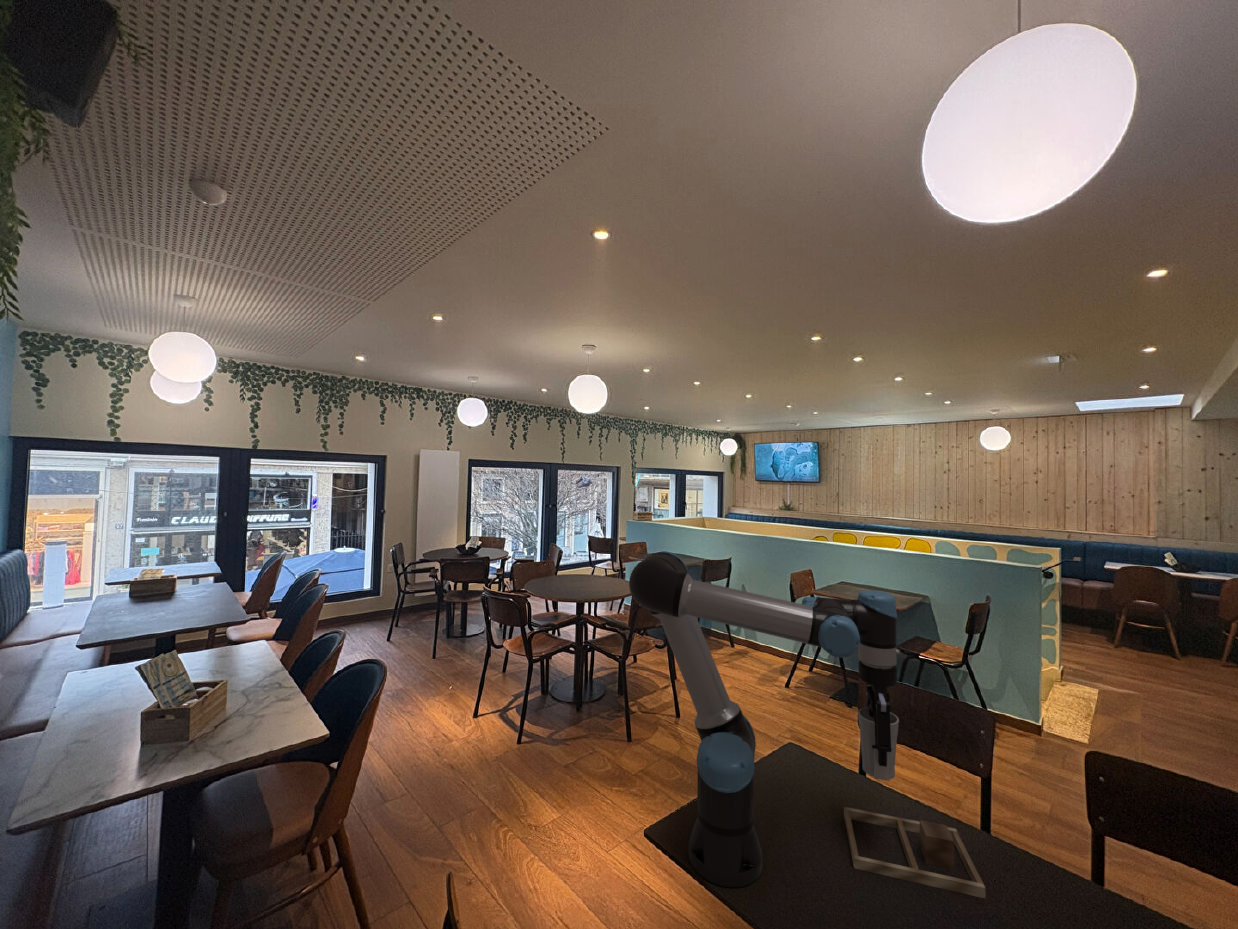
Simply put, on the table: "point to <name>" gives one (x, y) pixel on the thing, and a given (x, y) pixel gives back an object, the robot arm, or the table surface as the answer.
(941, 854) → the walnut block
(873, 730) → the cup
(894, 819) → the frame
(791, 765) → the table surface
